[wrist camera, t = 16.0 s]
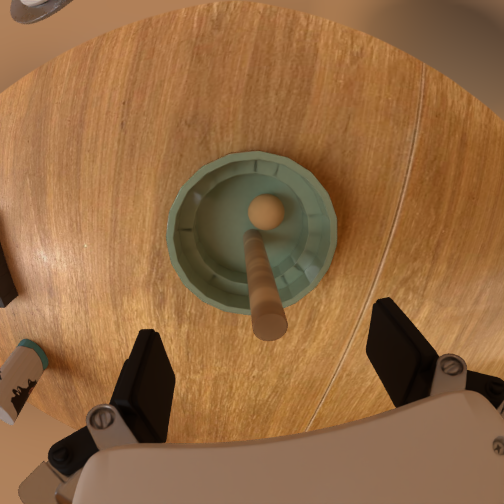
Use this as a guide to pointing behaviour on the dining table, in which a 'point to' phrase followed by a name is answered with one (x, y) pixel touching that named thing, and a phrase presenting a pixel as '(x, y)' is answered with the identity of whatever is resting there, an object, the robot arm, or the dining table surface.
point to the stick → (262, 290)
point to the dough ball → (266, 212)
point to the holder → (6, 283)
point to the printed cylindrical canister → (20, 378)
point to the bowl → (237, 223)
